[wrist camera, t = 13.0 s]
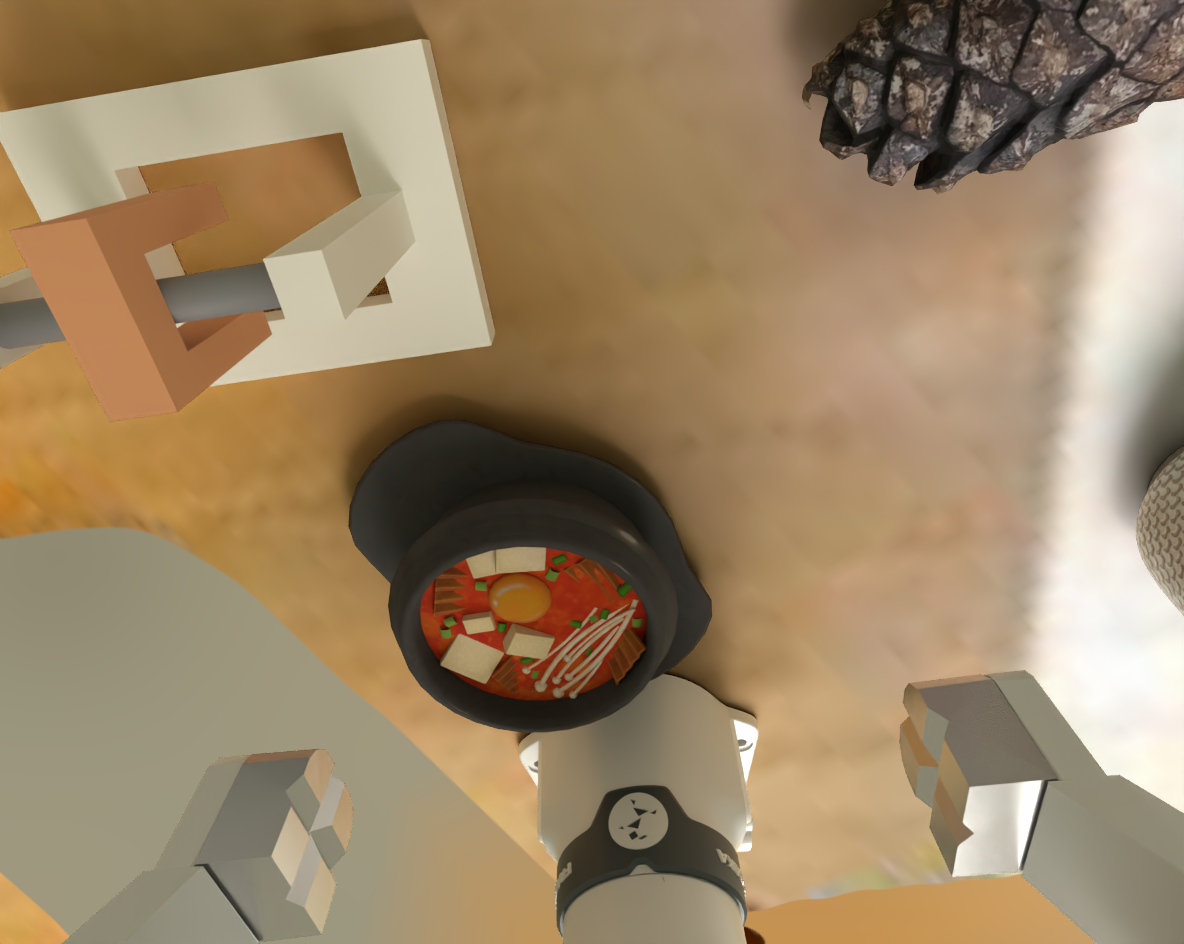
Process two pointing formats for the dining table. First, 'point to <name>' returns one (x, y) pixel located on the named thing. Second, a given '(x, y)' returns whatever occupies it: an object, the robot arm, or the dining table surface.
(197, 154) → the toilet paper holder
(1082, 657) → the dining table surface
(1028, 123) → the pine cone
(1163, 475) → the planter
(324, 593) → the dining table surface
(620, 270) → the dining table surface
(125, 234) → the orange block
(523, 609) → the casserole
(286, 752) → the robot arm
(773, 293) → the dining table surface
